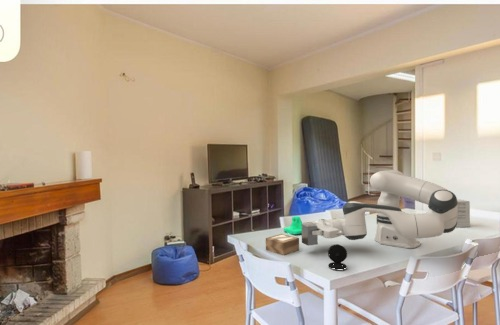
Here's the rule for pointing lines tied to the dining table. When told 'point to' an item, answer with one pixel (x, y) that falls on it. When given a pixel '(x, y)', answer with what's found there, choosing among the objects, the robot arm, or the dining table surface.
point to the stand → (282, 244)
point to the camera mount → (295, 226)
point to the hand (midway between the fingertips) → (307, 231)
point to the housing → (309, 233)
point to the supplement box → (463, 213)
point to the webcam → (337, 256)
